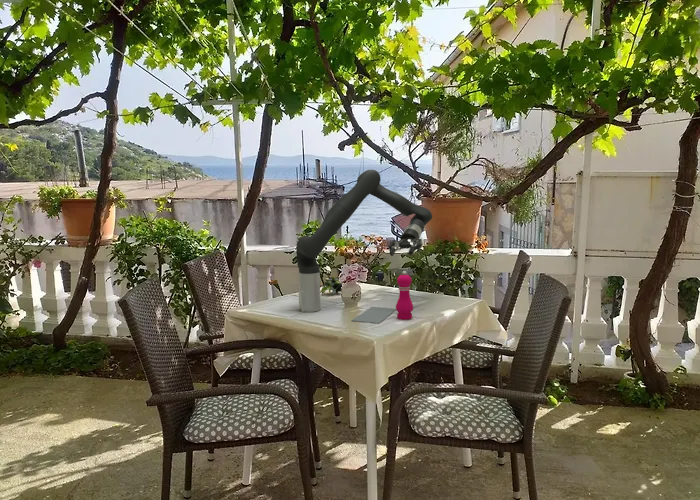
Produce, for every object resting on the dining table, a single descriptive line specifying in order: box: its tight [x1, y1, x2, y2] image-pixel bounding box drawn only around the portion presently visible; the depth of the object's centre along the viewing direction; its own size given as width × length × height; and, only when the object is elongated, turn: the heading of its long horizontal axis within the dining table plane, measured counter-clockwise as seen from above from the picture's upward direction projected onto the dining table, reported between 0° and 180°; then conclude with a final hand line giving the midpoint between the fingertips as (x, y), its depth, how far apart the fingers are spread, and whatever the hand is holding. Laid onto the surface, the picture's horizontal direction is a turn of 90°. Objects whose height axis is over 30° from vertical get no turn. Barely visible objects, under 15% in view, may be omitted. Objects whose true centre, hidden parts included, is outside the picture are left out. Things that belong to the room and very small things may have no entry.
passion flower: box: [320, 275, 343, 297], centre depth 261 cm, size 11×11×12 cm
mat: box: [351, 306, 397, 325], centre depth 220 cm, size 24×12×1 cm, turn 157°
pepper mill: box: [395, 270, 414, 321], centre depth 213 cm, size 7×7×20 cm
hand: (400, 253), depth 219 cm, fingers open, 8 cm apart
